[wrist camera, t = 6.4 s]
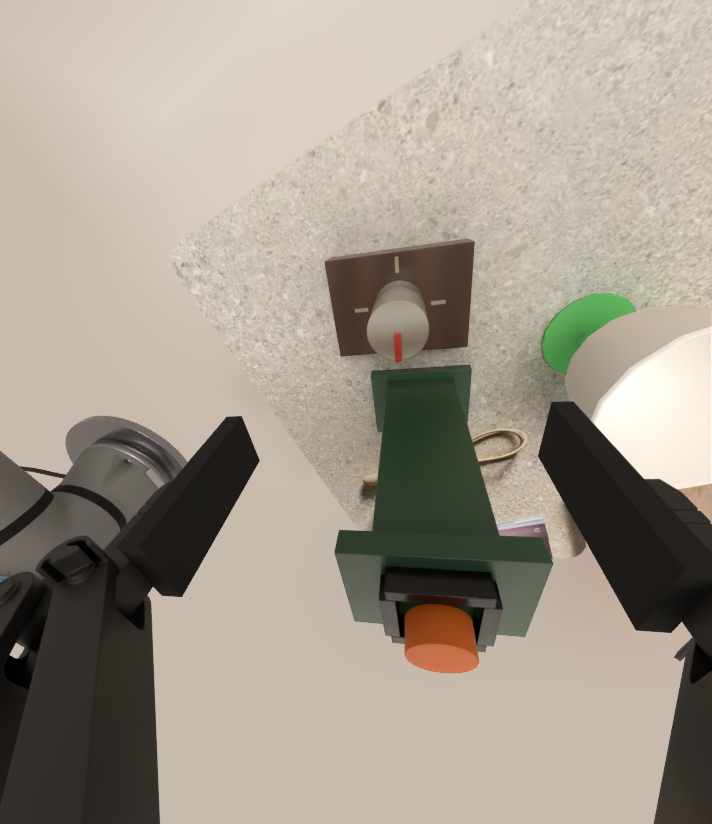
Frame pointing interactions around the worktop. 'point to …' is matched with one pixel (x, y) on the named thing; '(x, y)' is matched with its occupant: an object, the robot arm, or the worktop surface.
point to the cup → (641, 381)
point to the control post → (436, 518)
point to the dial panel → (420, 265)
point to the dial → (398, 321)
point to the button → (440, 639)
